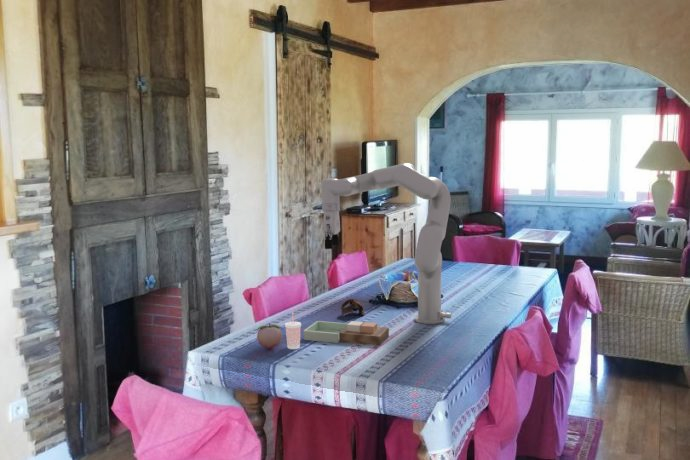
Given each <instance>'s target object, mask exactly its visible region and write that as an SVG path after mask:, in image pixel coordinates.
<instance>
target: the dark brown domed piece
mask: <svg viewBox="0 0 690 460" xmlns="http://www.w3.org/2000/svg"><path fill="white" fill-rule="evenodd" d="M347 305H348V306H347ZM345 306H346V307H345ZM340 309H341V315H342V316H344V315H345V314H348V313H354V312H357V311H358V313H359V314H362V316H363V317H365V316H366V314H365V309H364V307H363V305H362V303H361V302H360V301H359V300H357V299H356V298H348V299H346V301H344V302H343V303H341V306H340Z"/></svg>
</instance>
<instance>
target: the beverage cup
mask: <svg viewBox="0 0 690 460" xmlns="http://www.w3.org/2000/svg"><path fill="white" fill-rule="evenodd" d="M291 316H292V318H291V320H292V321H287V322H285V323H284V326H285V327H284V328H285V334H286V336H285V337H286V343H287V344H286V346H287V349H289V350H297V349H300V348H301V327H302V322H300V321H294V310H293V309H292V310H291Z"/></svg>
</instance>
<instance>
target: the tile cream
mask: <svg viewBox="0 0 690 460" xmlns="http://www.w3.org/2000/svg"><path fill="white" fill-rule="evenodd" d="M347 323H348V324H347V331H354V332H360V331H361V325H362V324H363V323H365V322H364V321H355V320H354V321H353V320H351V321H350V322H347Z"/></svg>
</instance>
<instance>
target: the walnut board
mask: <svg viewBox="0 0 690 460" xmlns="http://www.w3.org/2000/svg"><path fill="white" fill-rule="evenodd" d="M389 330H390V328H389V327H383V326H377V330H376V331H375V332H374V333H366V332H361V331H360V332H354V331H347V327H346V328H345V329H344V330H342V331H341V332H340V333H339V342H338V343H349V344H357V345H367V346H368V345H369V346H378V347H381V346H382V344H383V343H384V342H386V340H387V339H388V338H389V336H390V331H389Z"/></svg>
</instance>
